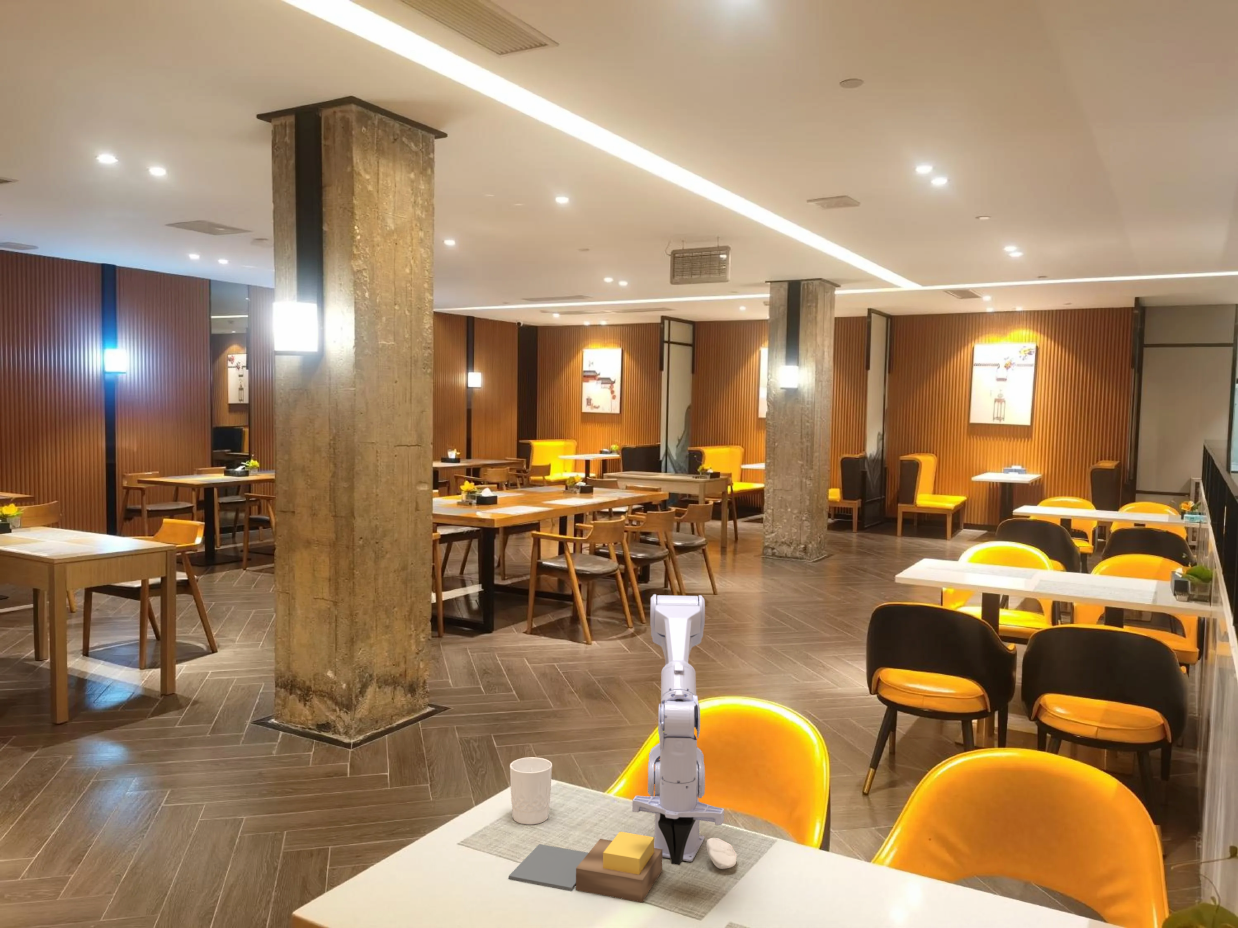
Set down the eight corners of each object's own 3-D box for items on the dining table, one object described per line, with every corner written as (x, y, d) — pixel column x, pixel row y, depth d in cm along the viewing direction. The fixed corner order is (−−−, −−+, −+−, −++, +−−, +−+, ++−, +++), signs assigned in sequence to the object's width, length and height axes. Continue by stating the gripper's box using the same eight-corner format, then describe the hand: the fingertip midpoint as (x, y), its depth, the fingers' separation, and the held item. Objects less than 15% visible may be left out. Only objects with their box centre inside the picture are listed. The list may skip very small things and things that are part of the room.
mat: (539, 846, 156) (539, 843, 156) (598, 856, 152) (598, 854, 152) (508, 878, 145) (508, 875, 145) (571, 890, 141) (571, 887, 141)
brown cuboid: (600, 858, 152) (600, 838, 152) (662, 869, 148) (662, 848, 148) (575, 889, 141) (576, 867, 141) (642, 902, 138) (642, 880, 138)
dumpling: (704, 855, 153) (704, 833, 153) (734, 856, 153) (735, 833, 153) (708, 876, 146) (709, 852, 146) (740, 876, 146) (740, 852, 146)
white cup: (506, 810, 171) (506, 759, 170) (546, 806, 173) (546, 755, 173) (513, 828, 163) (514, 774, 163) (555, 823, 165) (556, 769, 165)
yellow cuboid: (619, 846, 149) (619, 831, 149) (654, 851, 147) (654, 836, 147) (603, 867, 141) (603, 852, 141) (639, 874, 139) (639, 858, 139)
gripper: (626, 779, 140) (625, 865, 140) (717, 792, 135) (716, 881, 135) (640, 763, 146) (639, 845, 147) (727, 775, 142) (726, 860, 142)
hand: (677, 861), depth 141 cm, fingers closed
